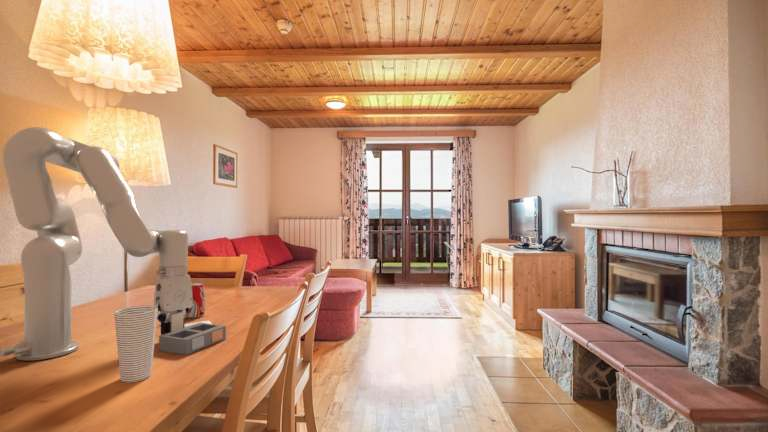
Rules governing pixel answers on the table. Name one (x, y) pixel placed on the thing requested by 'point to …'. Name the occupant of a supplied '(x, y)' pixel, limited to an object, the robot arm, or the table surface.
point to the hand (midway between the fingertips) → (172, 332)
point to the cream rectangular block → (176, 320)
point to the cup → (135, 341)
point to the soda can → (197, 301)
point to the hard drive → (196, 323)
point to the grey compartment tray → (192, 338)
